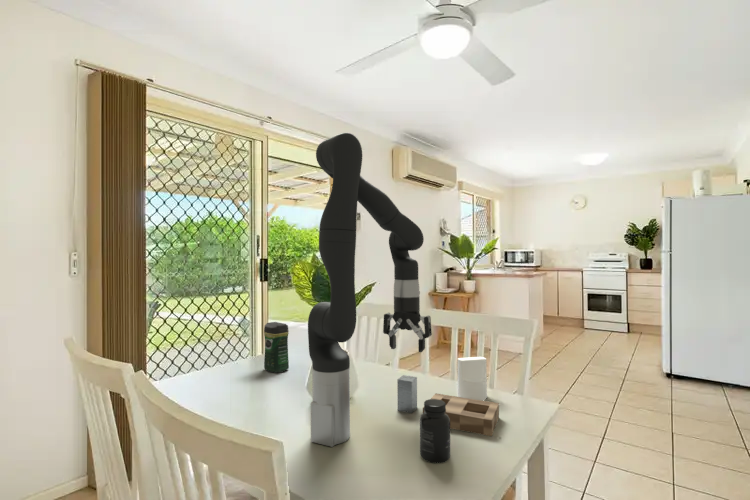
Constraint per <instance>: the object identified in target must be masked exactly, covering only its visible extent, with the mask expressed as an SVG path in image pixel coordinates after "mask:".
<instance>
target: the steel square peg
mask: <svg viewBox="0 0 750 500" xmlns="http://www.w3.org/2000/svg"><path fill="white" fill-rule="evenodd" d="M396 385H397V411H398V412H404V413H409V414H413V413H414V412H415V411H416V409H417V408H418V377H417V376H411V375H405V374H403V375H401V376H400V377H399V378H397V384H396Z"/></svg>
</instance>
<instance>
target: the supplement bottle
mask: <svg viewBox="0 0 750 500" xmlns="http://www.w3.org/2000/svg"><path fill="white" fill-rule="evenodd" d="M423 407H424V413H423V412H422V413H421V415H420V416H419V455H420V457H421V459H422V460H423V461H426V462H427V463H432V464H443V463H445V462H447V461H449V459H450V458H451V428H450V418H449V416H448V415H447V414H446V413H445V412H446V404H445V402H444V401H442V400H438V399H431V398H430V399H425V401H423Z"/></svg>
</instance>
